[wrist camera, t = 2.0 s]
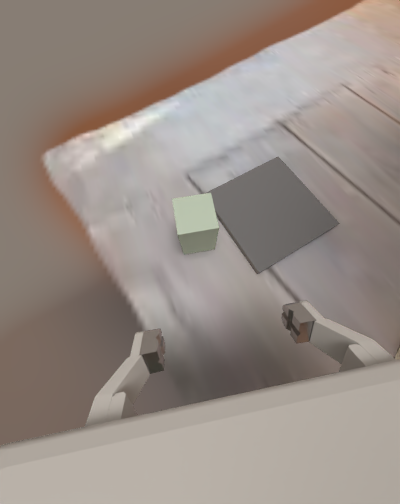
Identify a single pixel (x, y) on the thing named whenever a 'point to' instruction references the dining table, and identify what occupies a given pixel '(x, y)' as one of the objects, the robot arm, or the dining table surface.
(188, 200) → the block
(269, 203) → the board
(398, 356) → the condiment
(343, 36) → the dining table surface
